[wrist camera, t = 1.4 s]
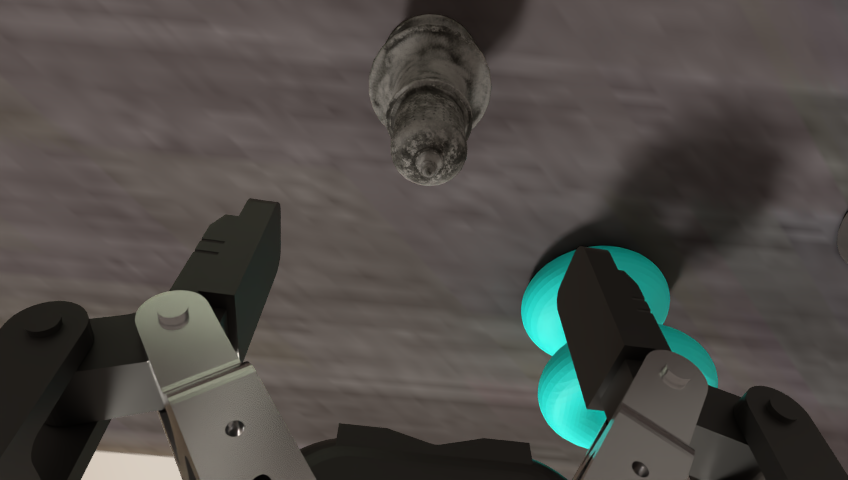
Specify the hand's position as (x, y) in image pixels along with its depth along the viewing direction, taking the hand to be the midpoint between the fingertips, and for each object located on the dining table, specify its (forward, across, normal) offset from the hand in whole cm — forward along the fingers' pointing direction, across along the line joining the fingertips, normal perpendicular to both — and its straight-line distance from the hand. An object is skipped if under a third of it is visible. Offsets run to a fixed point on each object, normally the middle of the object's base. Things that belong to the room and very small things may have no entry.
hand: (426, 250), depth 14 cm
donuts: (+16, -14, +14) cm, 26 cm away
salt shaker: (+17, 0, 0) cm, 17 cm away
